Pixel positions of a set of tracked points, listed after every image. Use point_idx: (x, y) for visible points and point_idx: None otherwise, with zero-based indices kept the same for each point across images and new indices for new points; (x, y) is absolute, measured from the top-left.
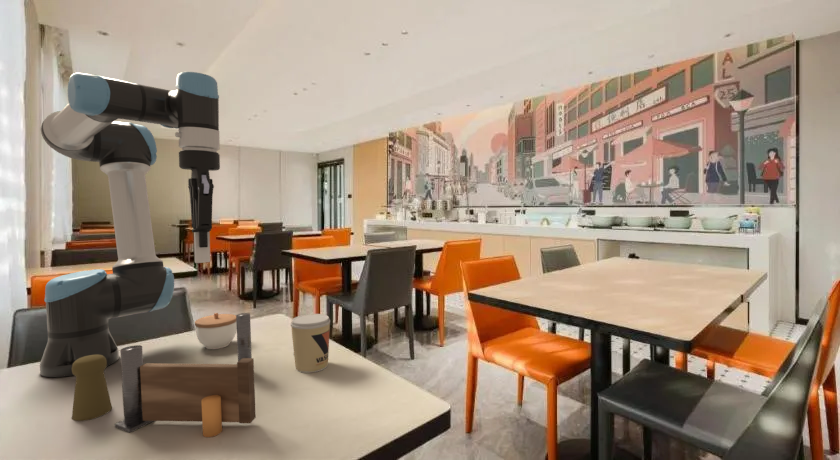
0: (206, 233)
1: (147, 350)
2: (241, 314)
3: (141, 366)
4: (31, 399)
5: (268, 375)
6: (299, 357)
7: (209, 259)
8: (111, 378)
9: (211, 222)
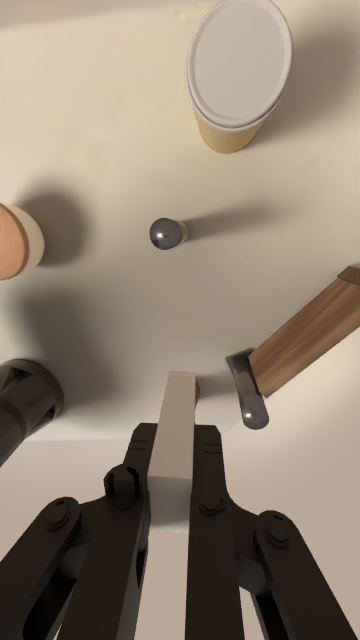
0: (226, 492)
1: (3, 328)
2: (159, 236)
3: (268, 396)
4: (112, 425)
5: (213, 204)
6: (243, 143)
7: (194, 380)
8: (94, 370)
9: (325, 580)
